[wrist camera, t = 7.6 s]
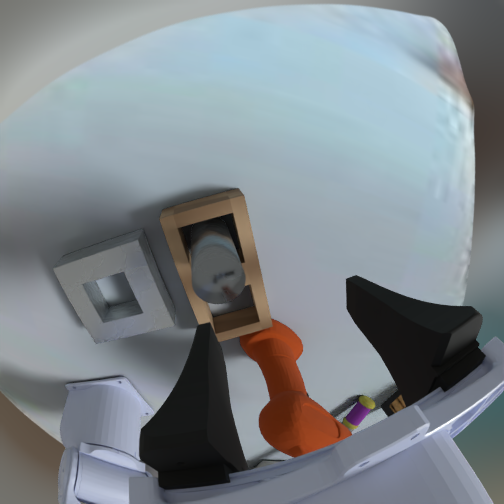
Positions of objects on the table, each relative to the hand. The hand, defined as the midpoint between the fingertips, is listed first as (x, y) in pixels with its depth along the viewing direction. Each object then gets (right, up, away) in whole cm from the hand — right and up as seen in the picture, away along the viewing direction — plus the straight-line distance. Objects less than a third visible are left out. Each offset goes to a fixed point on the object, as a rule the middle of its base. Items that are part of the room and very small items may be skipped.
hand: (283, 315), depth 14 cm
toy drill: (+3, -9, +17) cm, 19 cm away
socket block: (-13, 0, +8) cm, 16 cm away
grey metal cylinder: (-5, +5, +8) cm, 11 cm away
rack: (-4, +2, +10) cm, 11 cm away
